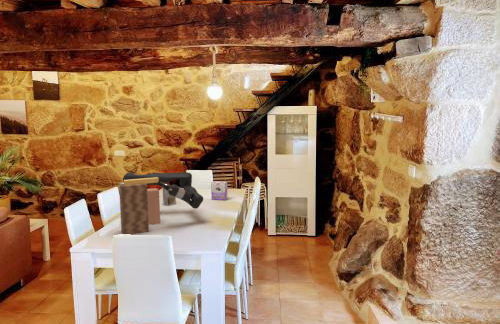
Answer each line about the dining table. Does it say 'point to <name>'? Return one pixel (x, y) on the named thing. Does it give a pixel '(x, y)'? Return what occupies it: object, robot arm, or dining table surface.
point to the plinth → (134, 208)
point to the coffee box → (168, 198)
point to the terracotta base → (153, 206)
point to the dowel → (141, 181)
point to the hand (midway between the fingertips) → (156, 182)
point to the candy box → (219, 190)
